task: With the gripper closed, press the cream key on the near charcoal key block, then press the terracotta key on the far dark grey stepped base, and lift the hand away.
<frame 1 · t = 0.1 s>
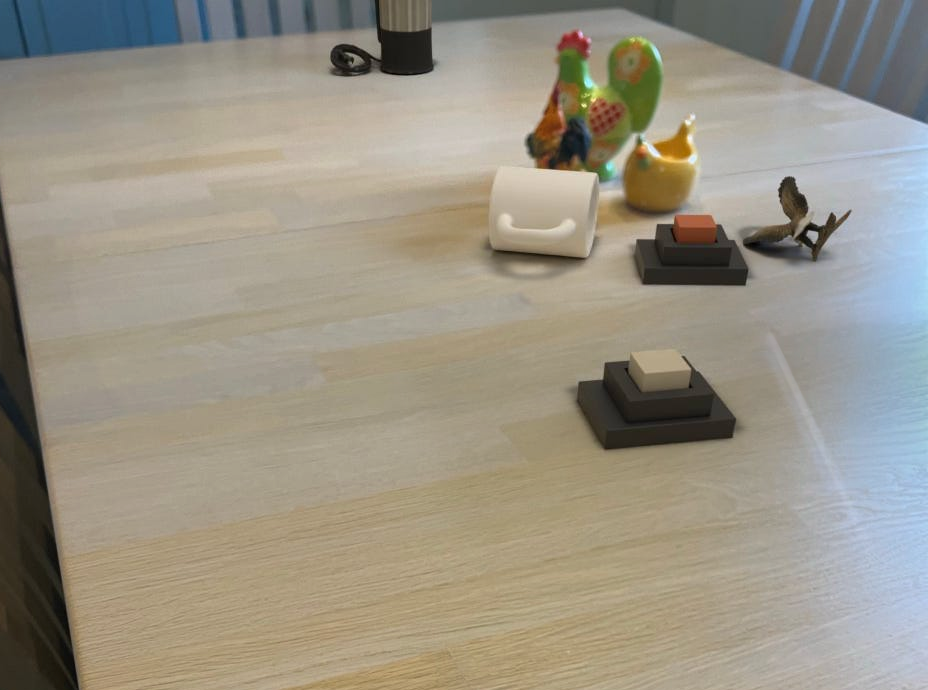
cream key block: (652, 419, 79), on the table
cream key: (658, 371, 76), point 4 cm above the table, slide at 0.1 cm
eagle figurine: (785, 251, 106), on the table
dark grey stepped base: (688, 270, 102), on the table
milk frother: (383, 71, 171), on the table
mug: (538, 260, 105), on the table
terracotta key: (694, 229, 99), point 4 cm above the table, slide at 0.1 cm
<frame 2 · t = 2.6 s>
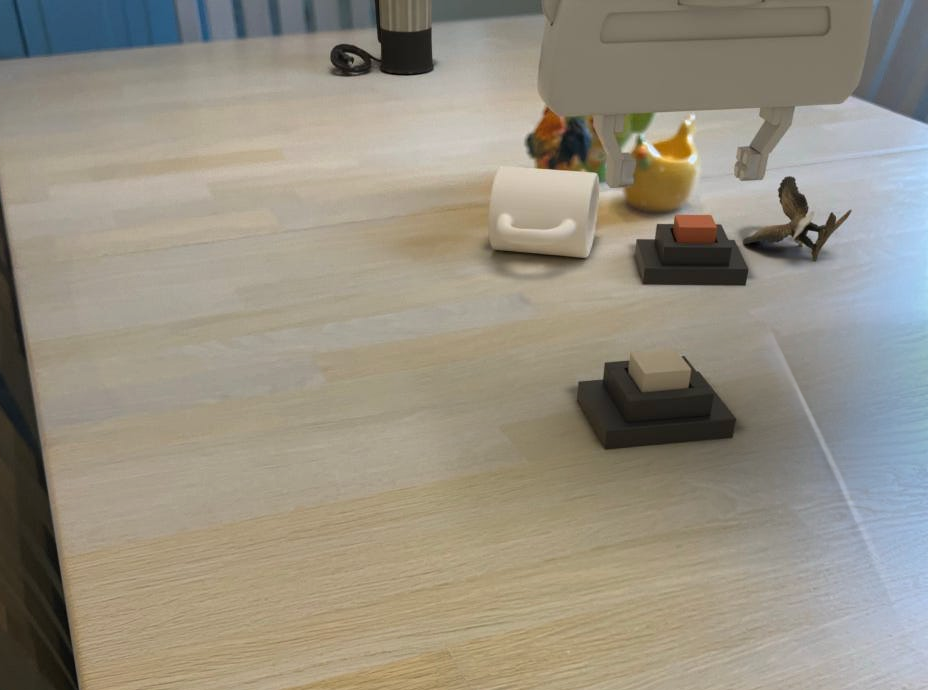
hand: (684, 182, 67), 17 cm above the table, tool pointing down, fingers open, 8 cm apart
nothing on the table moved.
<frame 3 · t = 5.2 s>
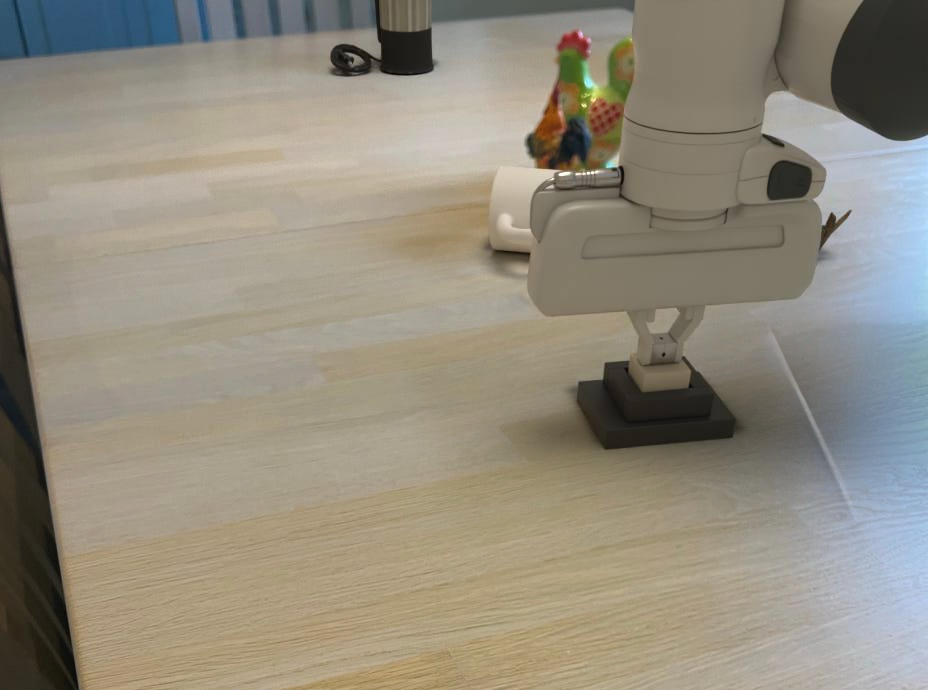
hand: (658, 360, 76), 5 cm above the table, tool pointing down, fingers closed, pressing on cream key
cream key: (658, 372, 76), point 4 cm above the table, slide at 0.0 cm, touching gripper
everything else where it was.
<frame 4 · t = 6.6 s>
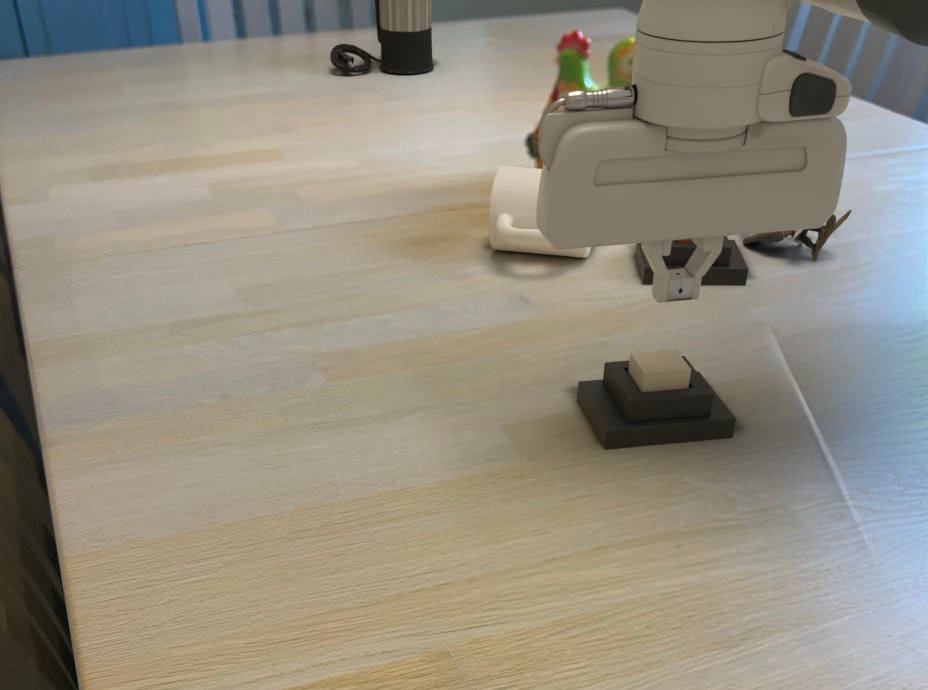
hand: (674, 298, 72), 10 cm above the table, tool pointing down, fingers closed
cream key: (658, 371, 76), point 4 cm above the table, slide at 0.1 cm
everything else where it was.
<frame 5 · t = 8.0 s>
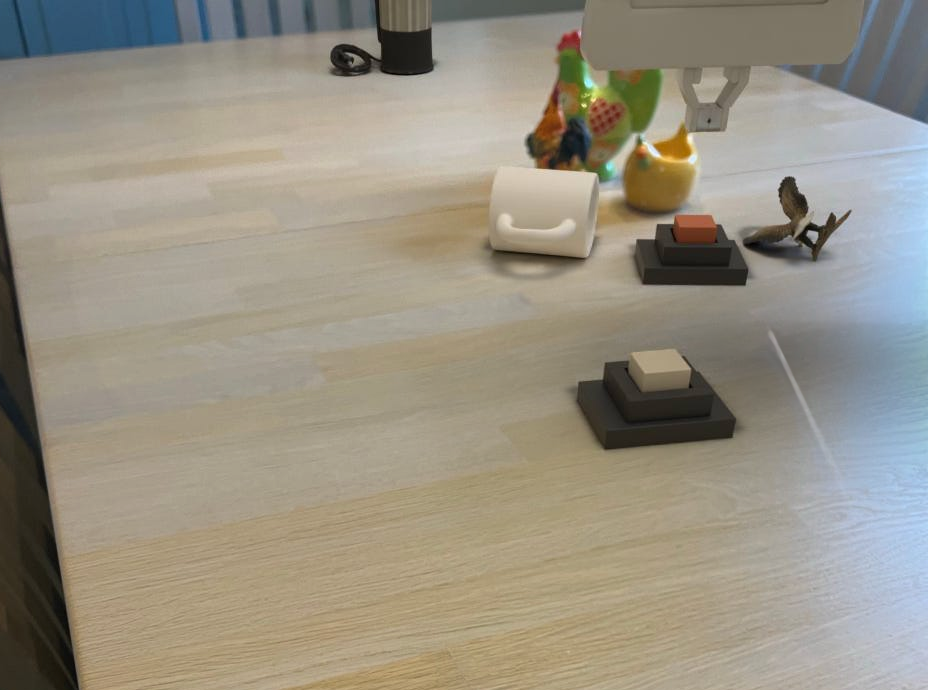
hand: (704, 130, 79), 17 cm above the table, tool pointing down, fingers closed
nothing on the table moved.
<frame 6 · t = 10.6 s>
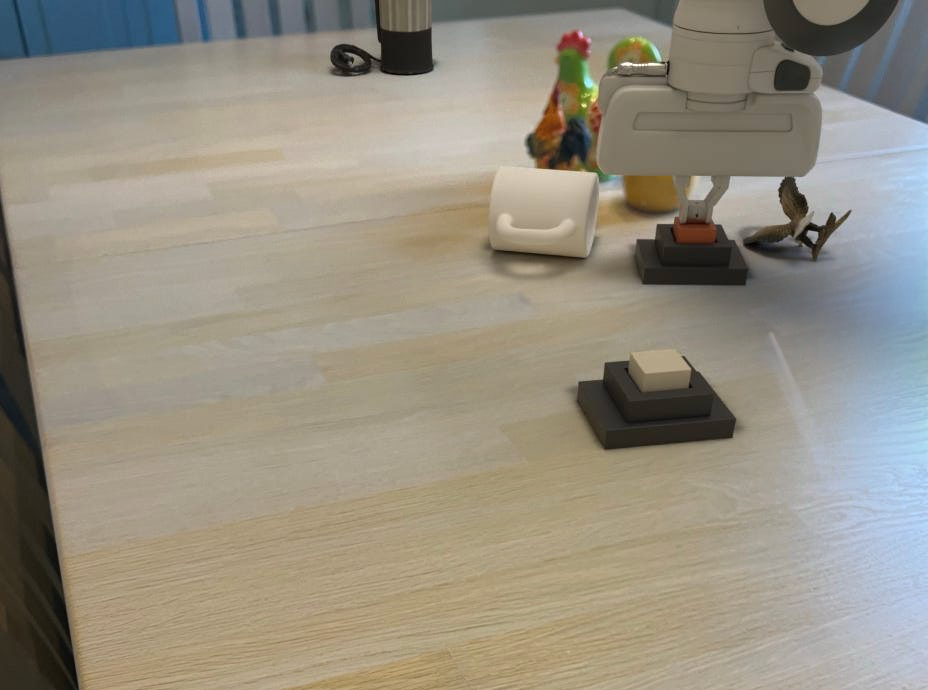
hand: (694, 221, 99), 5 cm above the table, tool pointing down, fingers closed, pressing on terracotta key
terracotta key: (694, 231, 99), point 4 cm above the table, slide at -0.1 cm, touching gripper
everything else where it was.
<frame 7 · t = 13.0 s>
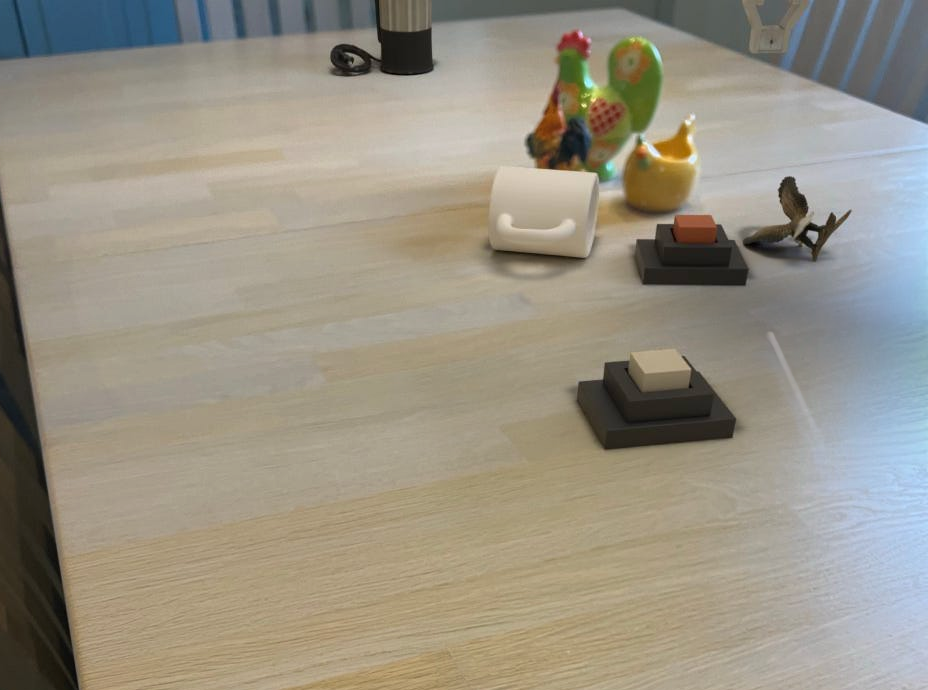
hand: (767, 51, 85), 20 cm above the table, tool pointing down, fingers closed
terracotta key: (694, 229, 99), point 4 cm above the table, slide at 0.1 cm
everything else where it was.
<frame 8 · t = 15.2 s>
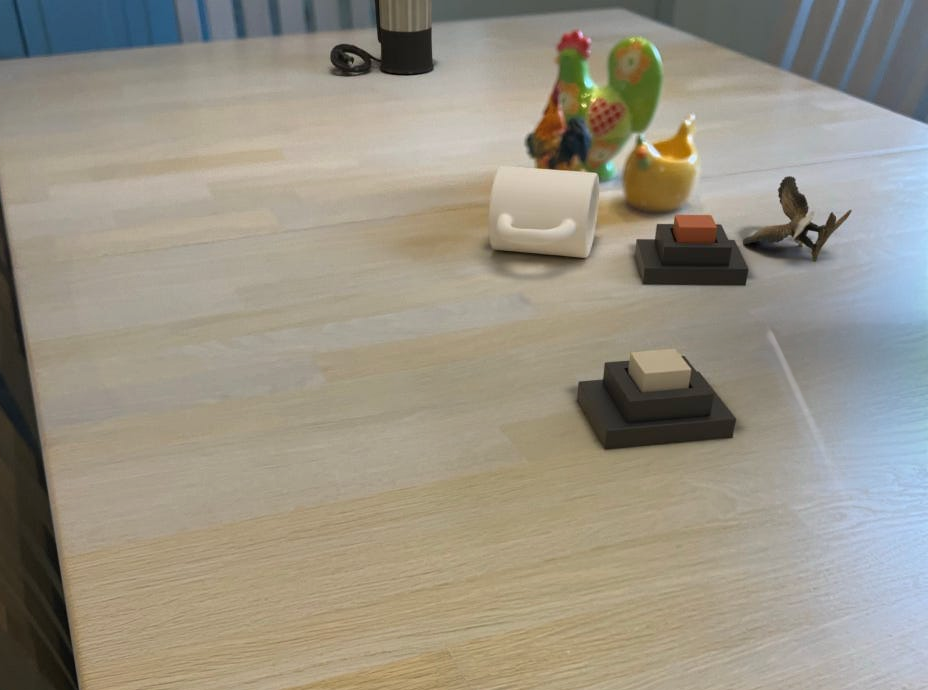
nothing on the table moved.
at the end: cream key pushed in 1.1 cm at the most during the clip, back to where it started at the end; terracotta key pushed in 1.1 cm at the most during the clip, back to where it started at the end; terracotta key slide at 0.1 cm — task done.
